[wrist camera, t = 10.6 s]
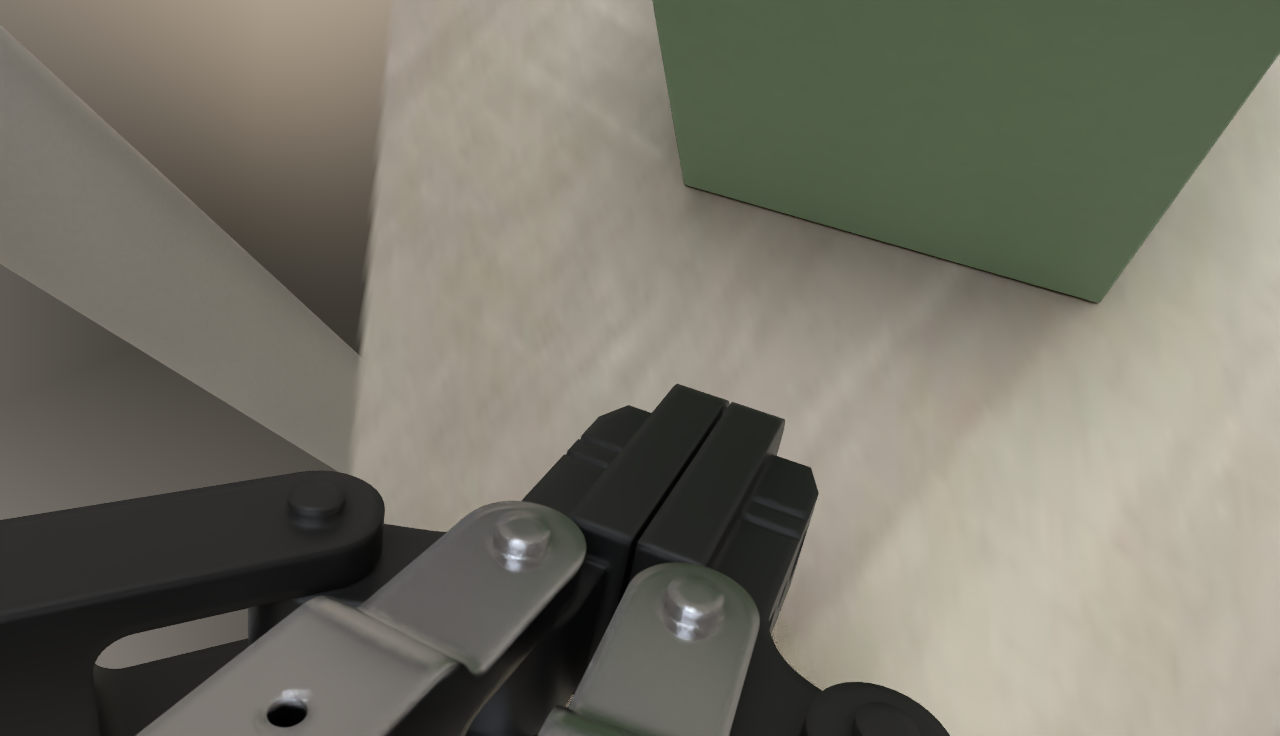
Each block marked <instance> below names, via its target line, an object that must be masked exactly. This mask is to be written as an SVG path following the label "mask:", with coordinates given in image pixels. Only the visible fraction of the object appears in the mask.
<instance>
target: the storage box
mask: <svg viewBox="0 0 1280 736" xmlns="http://www.w3.org/2000/svg"><path fill="white" fill-rule="evenodd" d="M652 1H653V6H654V12H655V18H656V24H657V30H658V36H659V41H660V47H661V53H662V59H663V65H664V70H665V76H666V82H667V88H668V94H669V99H670V105H671V111H672V117H673V123H674V129H675V134H676V140H677V146H678V152H679V158H680V163H681V169H682V175H683V181H684V184H685V185H688V186H691V187H695V188H698V189H702V190H705V191H709V192H712V193H716V194H719V195H723V196H726V197H730V198H733V199H737V200H740V201H743V202H747V203H750V204H754V205H757V206H761V207H764V208H768V209H771V210H775V211H778V212H782V213H785V214H789V215H792V216H796V217H799V218H803V219H806V220H810V221H813V222H817V223H820V224H824V225H827V226H831V227H834V228H838V229H841V230H845V231H848V232H852V233H855V234H859V235H862V236H866V237H869V238H873V239H876V240H880V241H883V242H887V243H890V244H894V245H897V246H901V247H904V248H908V249H911V250H915V251H918V252H922V253H925V254H929V255H932V256H936V257H939V258H943V259H946V260H950V261H953V262H957V263H960V264H963V265H967V266H970V267H974V268H977V269H981V270H984V271H988V272H991V273H995V274H998V275H1002V276H1005V277H1009V278H1012V279H1016V280H1019V281H1023V282H1026V283H1030V284H1033V285H1037V286H1040V287H1044V288H1047V289H1051V290H1054V291H1058V292H1061V293H1065V294H1068V295H1072V296H1075V297H1079V298H1082V299H1086V300H1089V301H1093V302H1096V303H1099V302H1101V300H1102V299H1103V298H1104V296H1105V295H1106V293H1107V292H1108V291H1109V289H1110V288H1111V287H1112V285H1113V284H1114V282H1115V281H1116V280H1117V278H1118V277H1119V275H1120V274H1121V273H1122V271H1123V270H1124V269H1125V267H1126V266H1127V264H1128V263H1129V262H1130V260H1131V259H1132V257H1133V256H1134V255H1135V253H1136V252H1137V251H1138V249H1139V248H1140V246H1141V245H1142V244H1143V242H1144V241H1145V239H1146V238H1147V237H1148V235H1149V234H1150V232H1151V231H1152V230H1153V228H1154V227H1155V226H1156V224H1157V223H1158V221H1159V220H1160V219H1161V217H1162V216H1163V214H1164V213H1165V212H1166V210H1167V209H1168V208H1169V206H1170V205H1171V203H1172V202H1173V201H1174V199H1175V198H1176V196H1177V195H1178V194H1179V192H1180V191H1181V190H1182V188H1183V187H1184V185H1185V184H1186V183H1187V181H1188V180H1189V178H1190V177H1191V176H1192V174H1193V173H1194V171H1195V170H1196V169H1197V167H1198V166H1199V165H1200V163H1201V162H1202V160H1203V159H1204V158H1205V156H1206V155H1207V153H1208V152H1209V151H1210V149H1211V148H1212V147H1213V145H1214V144H1215V142H1216V141H1217V140H1218V138H1219V137H1220V135H1221V134H1222V133H1223V131H1224V130H1225V128H1226V127H1227V126H1228V124H1229V123H1230V122H1231V120H1232V119H1233V117H1234V116H1235V115H1236V113H1237V112H1238V110H1239V109H1240V108H1241V106H1242V105H1243V104H1244V102H1245V101H1246V99H1247V98H1248V97H1249V95H1250V94H1251V92H1252V91H1253V90H1254V88H1255V87H1256V86H1257V84H1258V83H1259V81H1260V80H1261V79H1262V77H1263V76H1264V74H1265V73H1266V72H1267V70H1268V69H1269V67H1270V66H1271V65H1272V63H1273V62H1274V61H1275V59H1276V58H1277V56H1278V55H1279V54H1280V0H652Z"/></svg>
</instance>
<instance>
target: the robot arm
mask: <svg viewBox="0 0 1280 736" xmlns="http://www.w3.org/2000/svg"><path fill="white" fill-rule="evenodd" d="M784 425H785V419H782V418H779V417H776V416H773V415H770V414H767V413H764V412H761V411H758V410H755V409H752V408H749V407H746V406H743V405H740V404H737V403H734V402H732V403H731V404H730V405H729V401H728V400H725V399H722V398H719V397H716V396H713V395H710V394H707V393H704V392H701V391H698V390H695V389H692V388H689V387H686V386H683V385H680V384H676V385H675V386H674V387H673V388H672V389H671V390H670V392H669V393H668V394H667V395H666V396H665V398H664V399H663V400H662V401H661V403H660V404H659V405H658V406H657V407H656V409H655V410H654V411H653V412H652V413H649V412H647V411H644V410H641V409H638V408H635V407H632V406H629V405H628V406H625V407H623V408H620V409H618V410H615V411H612V412H610V413H607V414H605V415H602V416H600V417H598V418H597V419H596V421H595V422H594V423H593V424H592V425H591V426H590V427H589V428H588V429H587V430H586V431H585V432H584V434H583V435H582V437H581V439H580V440H579V439H578V440H577V441H576V442H575V443H574V444H573V446H572V447H571V448H570V449H569V450H568V451H567V454H566V455H563V456H562V457H561V459H560V460H559V461H558V462H557V463H556V464H555V465H554V466H553V467H552V468H551V469H550V470H549V472H548V473H547V474H546V475H545V476H544V477H543V478H542V479H541V480H540V481H539V482H538V484H537V485H536V486H535V487H534V488H533V489H532V490H531V491H530V492H529V493H528V494H527V495H526V497H525V498H524V499H523V500H522V501H504V502H497V503H492V504H488V505H485V506H482V507H480V508H478V509H476V510H474V511H472V512H471V513H470V514H468V515H467V516H466V517H464V518H463V519H462V520H461V521H460V522H458V523H457V524H456V525H455V526H454V527H453V528H451V529H450V530H449V531H448V532H438V531H429V530H422V529H415V528H408V527H401V526H395V525H388V524H384V514H385V507H384V502H383V499H382V497H381V495H380V494H379V493H378V491H377V490H376V489H375V488H373V487H372V486H371V485H370V484H368V483H367V482H365V481H363V480H361V479H359V478H357V477H354V476H351V475H347V474H344V473H338V472H332V471H305V472H297V473H291V474H285V475H279V476H273V477H266V478H261V479H254V480H248V481H241V482H235V483H229V484H223V485H216V486H210V487H204V488H198V489H191V490H186V491H179V492H173V493H167V494H161V495H155V496H148V497H142V498H135V499H130V500H123V501H117V502H111V503H104V504H98V505H92V506H86V507H80V508H73V509H67V510H61V511H55V512H49V513H42V514H36V515H30V516H23V517H18V518H11V519H5V520H0V736H950V735H949V733H948V732H947V731H946V729H945V728H944V727H943V726H942V724H941V723H940V722H939V721H938V720H937V719H936V718H935V717H934V716H933V715H932V714H931V713H930V712H929V711H928V710H926V709H925V708H924V707H923V706H921V705H920V704H919V703H917V702H915V701H914V700H912V699H911V698H909V697H907V696H905V695H903V694H901V693H899V692H897V691H895V690H892V689H889V688H887V687H884V686H880V685H876V684H871V683H863V682H846V683H841V684H836V685H834V686H831V687H829V688H826V689H825V690H823V691H821V690H820V689H819V688H817V687H816V686H814V685H813V684H811V683H810V682H809V681H807V680H806V679H805V678H803V677H802V676H801V675H799V674H798V673H797V672H796V671H795V670H794V669H793V668H792V667H791V666H790V665H789V664H788V663H787V662H786V661H785V660H784V658H783V657H782V656H781V654H780V653H779V651H778V650H777V648H776V646H775V644H774V642H773V639H772V637H771V632H772V630H773V628H774V625H775V623H776V620H777V618H778V615H779V612H780V610H781V607H782V605H783V602H784V600H785V597H786V595H787V592H788V589H789V587H790V584H791V581H792V578H793V574H794V571H795V568H796V565H797V561H798V558H799V555H800V552H801V548H802V545H803V542H804V539H805V536H806V532H807V529H808V526H809V523H810V519H811V516H812V513H813V510H814V506H815V503H816V500H817V497H818V494H819V493H818V490H817V486H816V483H815V480H814V476H813V473H812V470H811V468H810V467H807V466H804V465H801V464H798V463H796V462H793V461H790V460H787V459H784V458H781V457H778V456H777V452H778V449H779V445H780V442H781V438H782V434H783V430H784ZM246 608H248V639H244V640H240V641H235V642H231V643H227V644H223V645H219V646H215V647H211V648H206V649H203V650H198V651H194V652H190V653H186V654H181V655H177V656H173V657H169V658H165V659H161V660H156V661H152V662H148V663H144V664H140V665H136V666H132V667H127V668H122V669H108V668H103V667H100V666H97V665H96V664H95V661H96V660H97V657H98V656H99V655H100V654H101V652H102V651H103V650H104V649H105V648H106V647H107V646H109V645H110V644H112V643H113V642H115V641H117V640H118V639H121V638H123V637H125V636H128V635H132V634H135V633H140V632H144V631H148V630H153V629H157V628H162V627H166V626H171V625H175V624H180V623H184V622H188V621H192V620H197V619H202V618H206V617H211V616H215V615H220V614H224V613H228V612H233V611H237V610H242V609H246ZM572 694H573V695H574V696H573V698H572V700H571V702H570V704H569V706H568V708H567V707H565V705H566V704H567V702H568V700H569V699H570V697H571V696H572Z"/></svg>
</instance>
